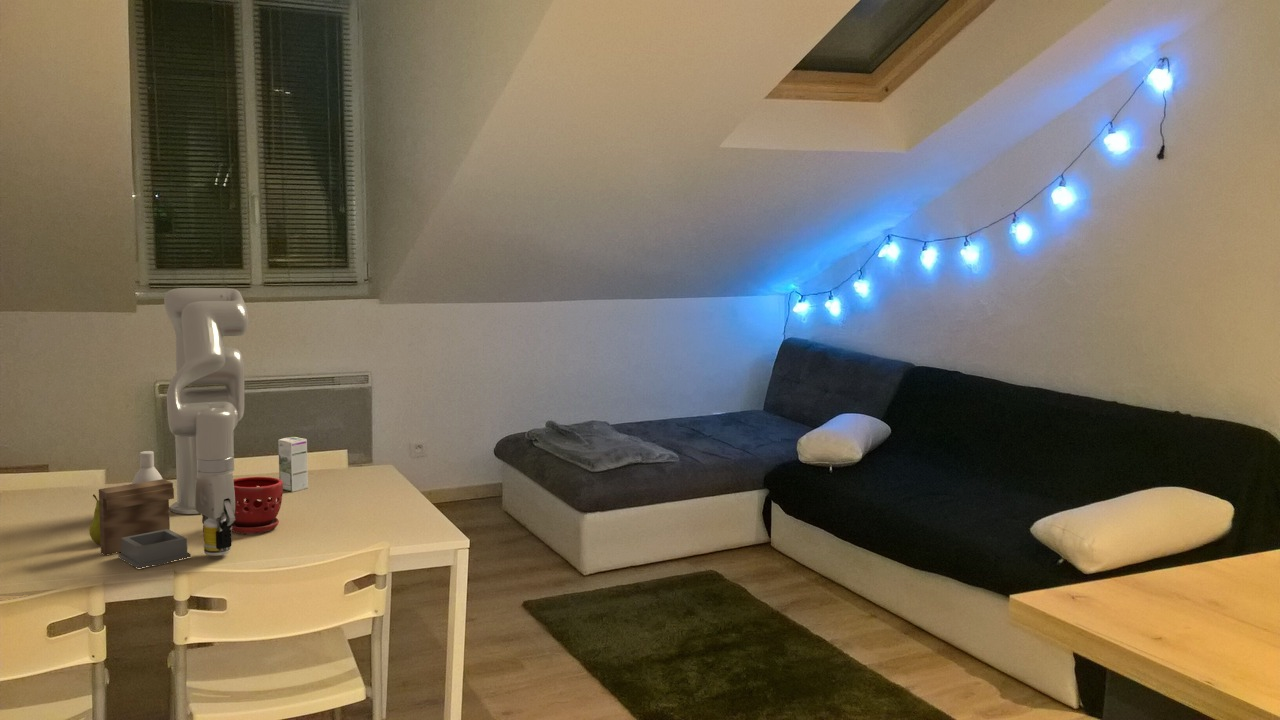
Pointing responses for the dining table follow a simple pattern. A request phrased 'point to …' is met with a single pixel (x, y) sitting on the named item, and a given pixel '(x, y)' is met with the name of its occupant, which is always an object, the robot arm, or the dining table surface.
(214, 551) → the supplement bottle
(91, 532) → the fruit
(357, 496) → the dining table surface
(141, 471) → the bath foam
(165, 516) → the wooden block
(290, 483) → the syrup box
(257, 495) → the plant pot
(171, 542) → the socket
